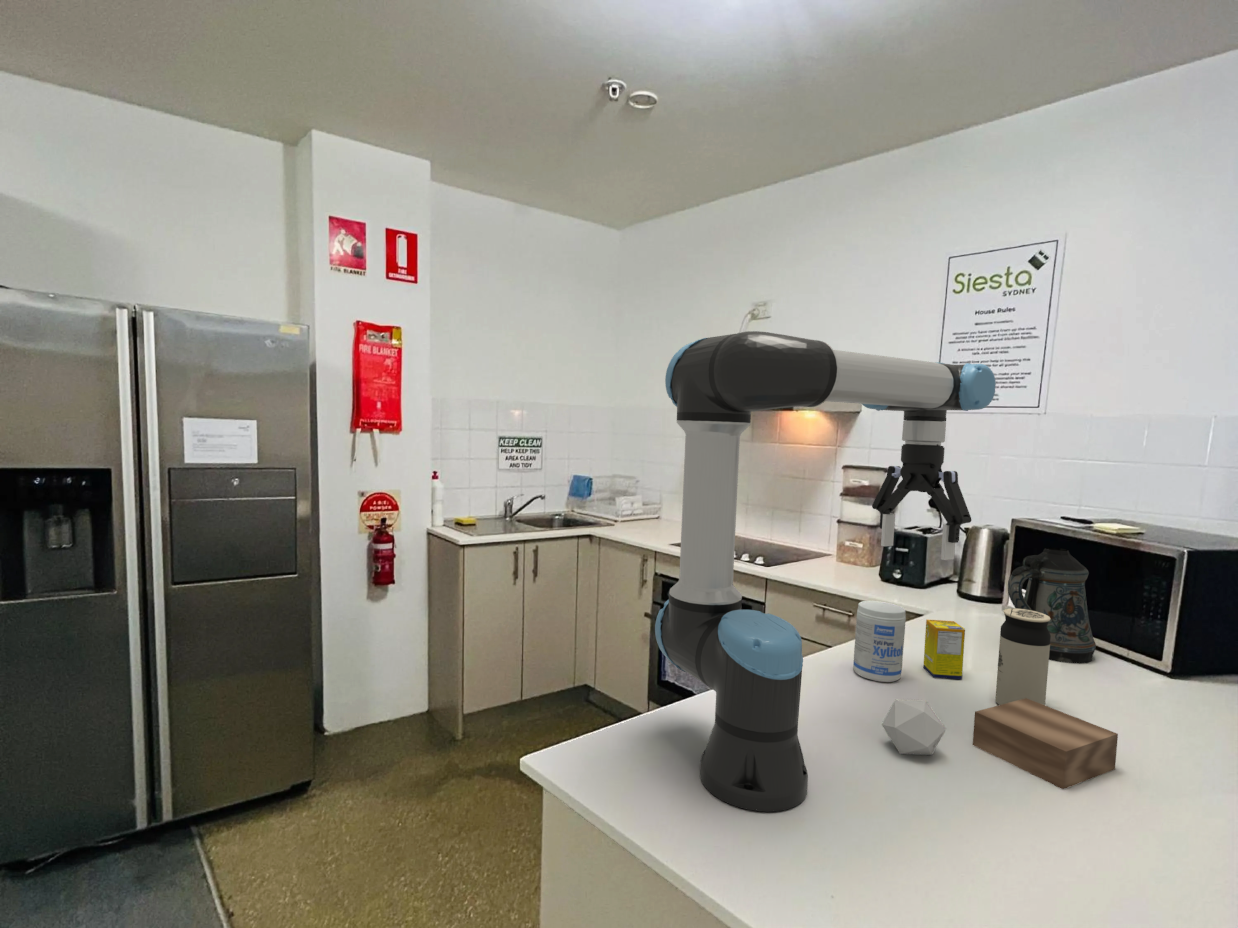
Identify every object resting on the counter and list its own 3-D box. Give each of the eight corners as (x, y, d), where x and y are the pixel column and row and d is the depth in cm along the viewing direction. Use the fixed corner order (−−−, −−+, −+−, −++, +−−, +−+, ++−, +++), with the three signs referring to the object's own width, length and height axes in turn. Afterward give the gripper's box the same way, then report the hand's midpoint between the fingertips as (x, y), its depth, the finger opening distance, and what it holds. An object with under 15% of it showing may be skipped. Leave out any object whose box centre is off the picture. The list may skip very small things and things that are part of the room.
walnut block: (1062, 791, 93) (1066, 751, 93) (972, 746, 105) (974, 711, 105) (1114, 771, 99) (1118, 733, 99) (1023, 731, 112) (1026, 697, 111)
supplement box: (950, 669, 139) (954, 620, 139) (962, 680, 134) (966, 628, 133) (922, 667, 140) (925, 618, 139) (932, 677, 134) (936, 626, 133)
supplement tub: (876, 686, 129) (881, 614, 128) (842, 668, 137) (847, 601, 136) (912, 680, 132) (916, 610, 131) (877, 663, 141) (881, 598, 140)
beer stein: (1106, 656, 152) (1115, 552, 150) (1071, 671, 141) (1081, 559, 140) (1030, 636, 166) (1037, 540, 164) (993, 648, 155) (1001, 546, 153)
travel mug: (1048, 707, 121) (1055, 614, 120) (1039, 720, 116) (1047, 622, 115) (1000, 694, 127) (1007, 605, 126) (990, 705, 121) (997, 612, 120)
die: (937, 774, 97) (963, 717, 100) (887, 740, 98) (913, 685, 101) (912, 766, 105) (937, 713, 107) (866, 735, 106) (891, 683, 109)
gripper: (998, 447, 114) (989, 564, 115) (883, 441, 136) (877, 539, 137) (971, 446, 110) (962, 567, 112) (858, 440, 133) (852, 541, 134)
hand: (915, 552), depth 124 cm, fingers open, 13 cm apart
